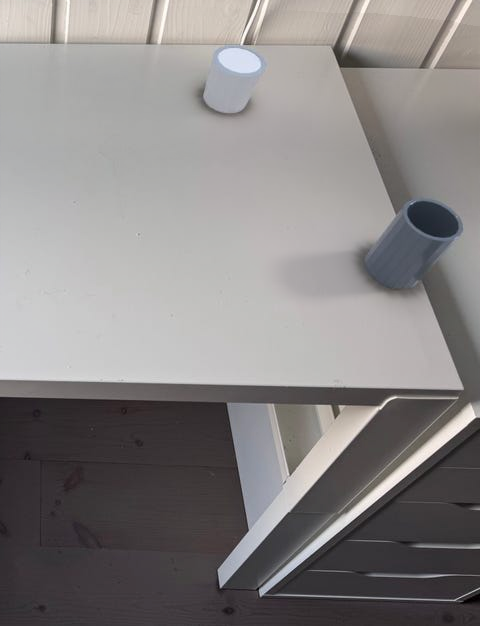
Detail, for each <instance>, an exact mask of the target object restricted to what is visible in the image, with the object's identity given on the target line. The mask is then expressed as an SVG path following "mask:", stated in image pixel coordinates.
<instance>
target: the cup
mask: <svg viewBox="0 0 480 626" xmlns="http://www.w3.org/2000/svg"><path fill="white" fill-rule="evenodd" d="M463 232H464V224H463V220H462V219H461V218H460V216H459V214H457V212H456V211H454V210H453V208H452V207H449V206H448V205H447V204H445V203H443V202H441V201H437V200H435V199H432V198H427V197H426V198H425V197H417V198H416V197H415V198H412V199H410V200H408V201H406V202H405V203H404V205H403V206H402V207H401V209H400V210H399V211H398V212H397V214H396V215H395V217H394V218H393V219H392V221H391V222H390V223H389V224H388V226H387V227H386V229H384V231H382V234H381V235H380V236H379V237H378V239H377V240H376V241H375V243H374V244H373V245H372V247H371V248H370V249H369V250H368V252H367V254H366V255H365V256H364V261H363V262H364V263H363V264H364V267H365V269H366V271H367V273H368V274H369V276H370V277H371V278H372V279H373V280H375V281H376V282H377V283H379V284H380V285H382V286H384V287H386V288H388V289H391V290H392V289H393V290H397V291H398V290H400V291H404V290H409V289H412V288H413V287H415V286H417V284H418V283H419V282H420V281H421V280H422V279H423V278H424V277H425V276H426V274H427V273H428V272H429V271H430V270H431V269H432V268H433V267H434V265H436V263H438V261H439V260H440V259H441V258H442V257H443V256H444V255H445V253H447V251H448V250H449V249H451V247H452V246H453V245H454V244H455V243H456V241H457V240H459V238H460V237H461V235H462V234H463Z"/></svg>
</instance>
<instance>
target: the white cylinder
mask: <svg viewBox="0 0 480 626" xmlns="http://www.w3.org/2000/svg"><path fill="white" fill-rule="evenodd" d="M210 61H211V62H210V67H209V69H208V74H207V78H206V83H205V87H204V91H203V96H202V97H203V100H204V103H205V104H206V105H207V106H208V107H209V108H211V109H212V110H213V111H215V112H219V113H223V114H235V113H239V112H241V111H242V110H244V109H245V108H246V106H247V104H248V102H249V100H250V99H251V97H252V95H253V93H254V92H255V89H256V87H257V86H258V84H259V82H260V80H261V78H262V76H263V74H264V73H265V71H266V68H267V63H266V60H265V58H264V57H263V56H262V55H261V54H260V53H259V52H258V51H256V50H254V49H252V48H250V47H247V46H243V45H239V44H226V45H223V46H219V47H218V48H217V49H216V50H214V51H213V54H212V57H211V60H210Z"/></svg>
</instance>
